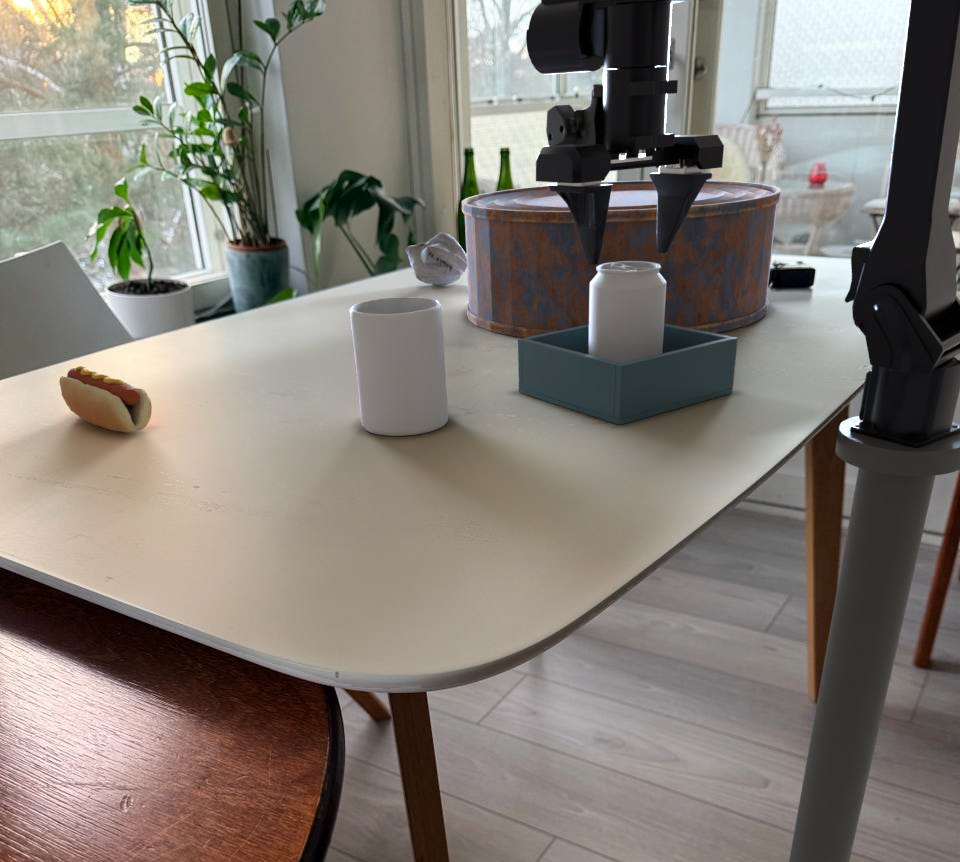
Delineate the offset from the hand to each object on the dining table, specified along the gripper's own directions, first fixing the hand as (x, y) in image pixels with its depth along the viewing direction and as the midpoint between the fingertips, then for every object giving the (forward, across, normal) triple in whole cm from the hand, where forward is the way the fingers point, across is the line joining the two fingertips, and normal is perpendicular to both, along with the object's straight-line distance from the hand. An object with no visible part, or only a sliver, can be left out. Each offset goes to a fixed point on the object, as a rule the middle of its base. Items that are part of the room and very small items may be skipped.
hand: (628, 258), depth 88 cm
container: (+13, -29, -33) cm, 46 cm away
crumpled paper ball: (+13, -23, -71) cm, 76 cm away
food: (+13, +45, -28) cm, 55 cm away
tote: (+13, 0, 0) cm, 13 cm away
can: (+13, 0, 0) cm, 13 cm away
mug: (+13, +21, -8) cm, 26 cm away
